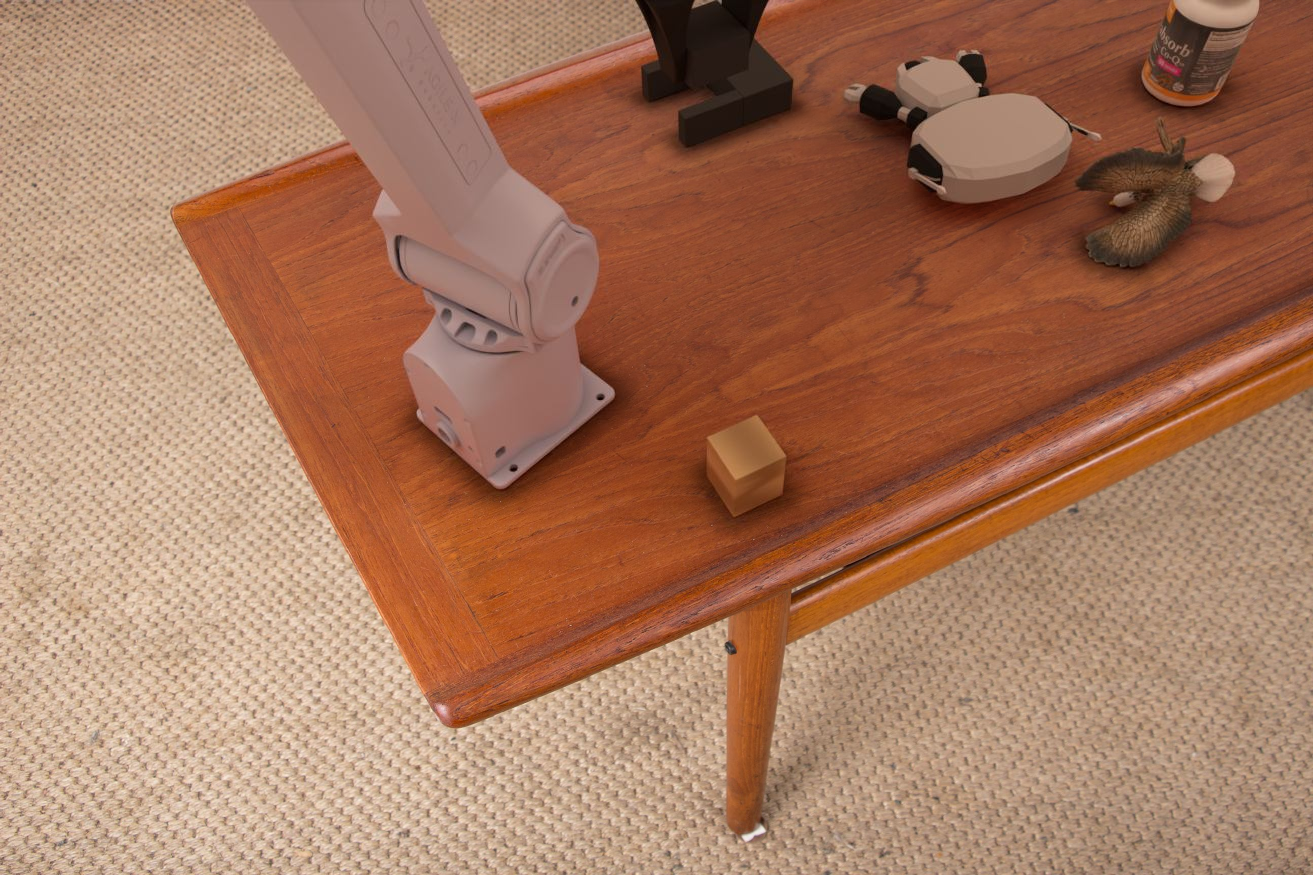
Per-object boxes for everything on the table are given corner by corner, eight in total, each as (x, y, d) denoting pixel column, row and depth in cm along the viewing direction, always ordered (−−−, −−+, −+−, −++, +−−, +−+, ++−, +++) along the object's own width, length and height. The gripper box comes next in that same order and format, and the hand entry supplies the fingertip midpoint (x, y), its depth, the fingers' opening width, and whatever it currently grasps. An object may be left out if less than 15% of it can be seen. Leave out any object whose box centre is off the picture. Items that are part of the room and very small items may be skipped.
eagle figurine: (1110, 144, 75) (1041, 188, 71) (1201, 91, 69) (1132, 136, 64) (1165, 238, 75) (1100, 288, 71) (1261, 194, 69) (1196, 245, 65)
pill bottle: (1124, 71, 82) (1171, -52, 73) (1191, 55, 82) (1244, -69, 74) (1166, 117, 78) (1220, -6, 70) (1235, 100, 79) (1296, -24, 71)
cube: (733, 518, 60) (735, 480, 57) (706, 476, 62) (706, 436, 59) (782, 495, 61) (787, 456, 58) (754, 454, 63) (757, 414, 60)
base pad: (685, 148, 78) (684, 119, 76) (642, 94, 82) (640, 65, 80) (791, 108, 80) (793, 79, 78) (744, 58, 84) (745, 28, 82)
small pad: (692, 91, 66) (692, 54, 63) (661, 56, 68) (660, 19, 66) (748, 69, 67) (750, 33, 64) (716, 36, 69) (717, -1, 66)
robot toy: (829, 124, 80) (939, 243, 72) (833, 70, 77) (949, 188, 68) (970, 78, 83) (1094, 188, 74) (980, 24, 79) (1111, 133, 70)
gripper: (614, -84, 52) (630, 138, 63) (863, -166, 56) (837, 58, 67) (552, -148, 56) (578, 73, 67) (790, -221, 59) (777, 1, 70)
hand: (703, 62), depth 67 cm, fingers closed on small pad, 4 cm apart
